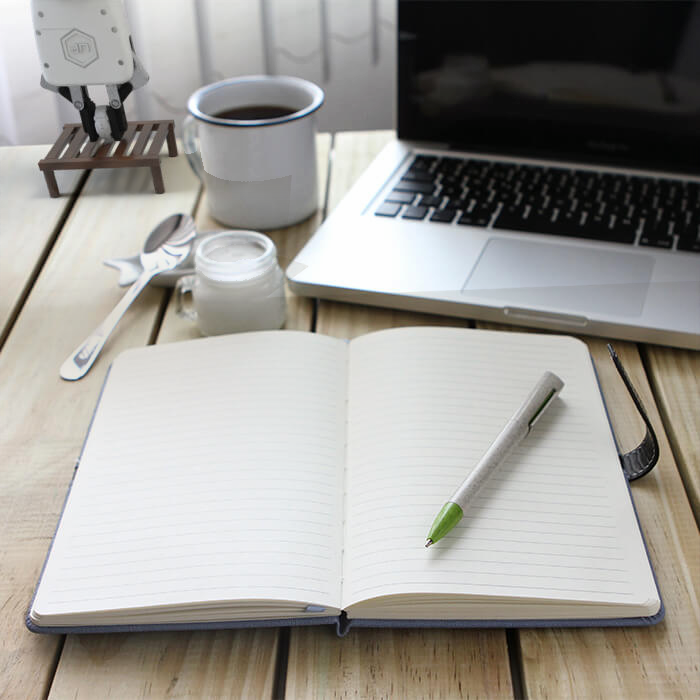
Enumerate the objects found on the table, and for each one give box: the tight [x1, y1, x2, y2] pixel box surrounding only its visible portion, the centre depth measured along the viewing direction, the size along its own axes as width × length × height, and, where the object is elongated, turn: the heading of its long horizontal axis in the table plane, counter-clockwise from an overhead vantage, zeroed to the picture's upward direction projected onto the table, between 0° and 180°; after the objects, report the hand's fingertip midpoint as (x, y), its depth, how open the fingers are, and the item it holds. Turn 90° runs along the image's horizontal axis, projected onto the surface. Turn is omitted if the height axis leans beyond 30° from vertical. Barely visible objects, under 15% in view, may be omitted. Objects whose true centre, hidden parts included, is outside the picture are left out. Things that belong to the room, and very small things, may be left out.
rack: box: [37, 119, 179, 199], centre depth 97 cm, size 14×12×4 cm
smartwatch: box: [94, 104, 113, 140], centre depth 94 cm, size 4×2×4 cm, turn 3°
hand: (107, 136), depth 95 cm, fingers closed on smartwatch, 2 cm apart
